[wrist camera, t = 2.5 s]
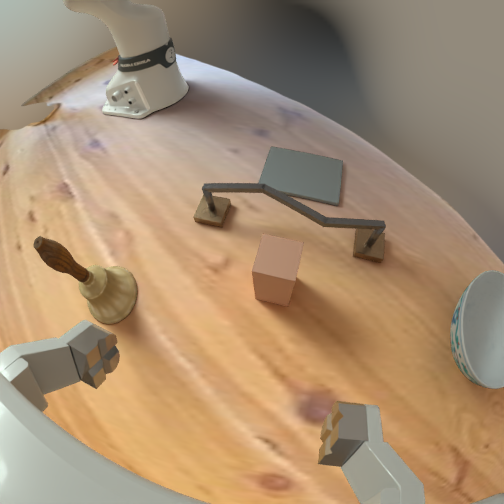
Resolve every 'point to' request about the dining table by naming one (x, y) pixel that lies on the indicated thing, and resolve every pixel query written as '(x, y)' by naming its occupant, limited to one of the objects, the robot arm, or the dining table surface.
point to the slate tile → (303, 175)
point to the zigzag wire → (366, 240)
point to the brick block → (276, 269)
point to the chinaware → (480, 331)
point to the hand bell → (94, 282)
